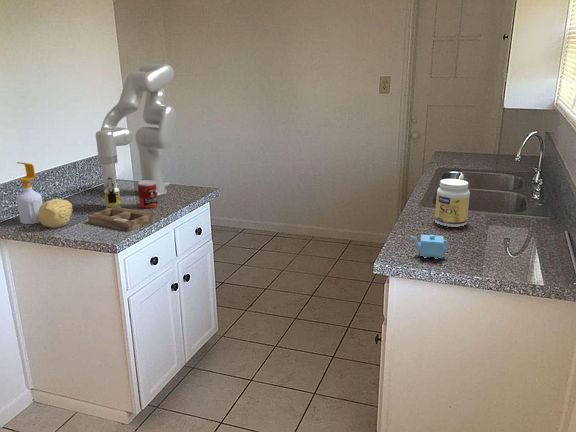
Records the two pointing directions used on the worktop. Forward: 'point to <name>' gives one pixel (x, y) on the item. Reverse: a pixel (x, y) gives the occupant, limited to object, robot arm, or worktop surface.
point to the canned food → (147, 194)
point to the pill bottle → (118, 203)
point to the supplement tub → (452, 203)
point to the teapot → (431, 246)
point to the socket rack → (121, 218)
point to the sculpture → (55, 213)
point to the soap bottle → (29, 198)
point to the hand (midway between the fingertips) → (112, 200)
